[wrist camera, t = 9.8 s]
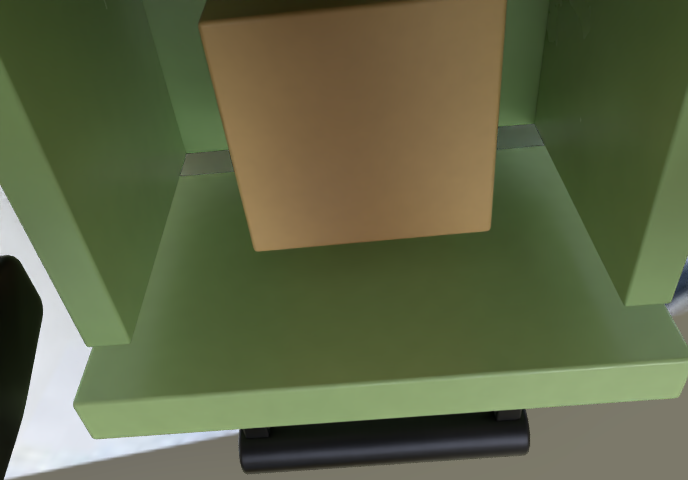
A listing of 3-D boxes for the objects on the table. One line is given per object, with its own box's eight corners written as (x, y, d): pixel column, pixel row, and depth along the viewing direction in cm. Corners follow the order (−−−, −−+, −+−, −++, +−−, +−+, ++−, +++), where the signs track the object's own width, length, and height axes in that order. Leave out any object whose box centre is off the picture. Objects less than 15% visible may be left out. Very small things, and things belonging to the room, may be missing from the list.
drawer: (549, 283, 20) (634, 504, 15) (196, 311, 21) (150, 536, 15) (708, -612, 9) (1340, -1109, 3) (-86, -514, 9) (-685, -818, 4)
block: (457, -92, 12) (509, -10, 9) (454, 112, 15) (491, 232, 12) (229, -67, 12) (195, 23, 9) (268, 130, 15) (253, 253, 12)
